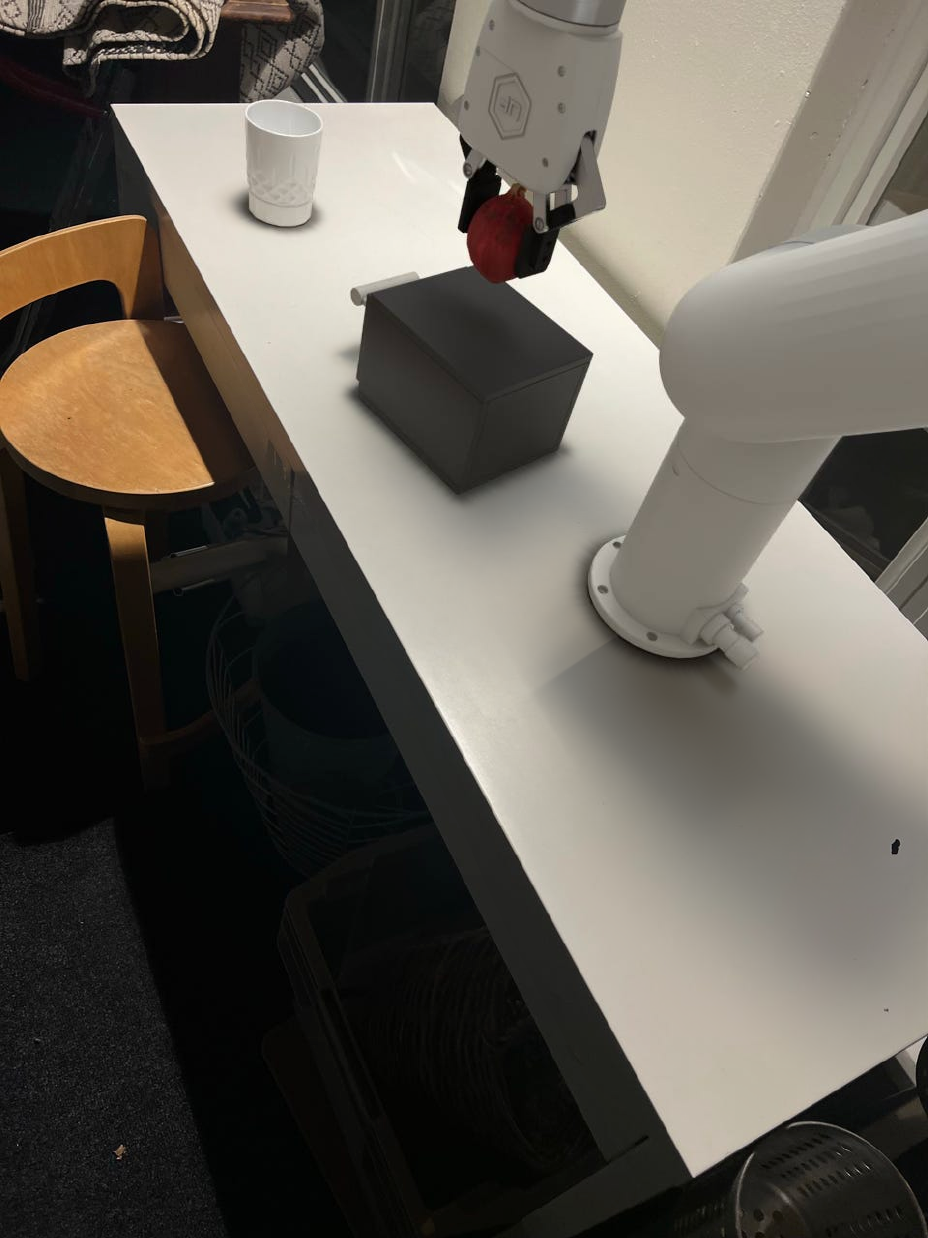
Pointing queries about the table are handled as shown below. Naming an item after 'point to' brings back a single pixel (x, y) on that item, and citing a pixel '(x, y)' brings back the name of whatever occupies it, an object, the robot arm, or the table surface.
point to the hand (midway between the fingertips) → (501, 248)
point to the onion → (499, 234)
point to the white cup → (282, 160)
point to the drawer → (363, 296)
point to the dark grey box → (469, 374)
